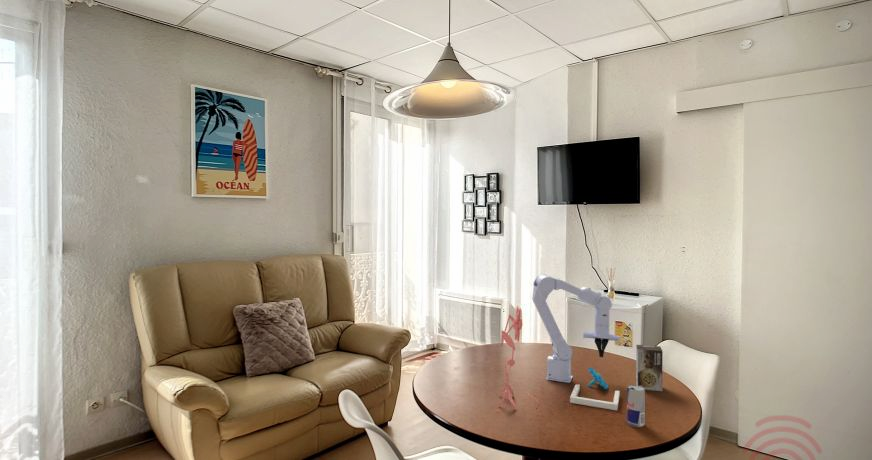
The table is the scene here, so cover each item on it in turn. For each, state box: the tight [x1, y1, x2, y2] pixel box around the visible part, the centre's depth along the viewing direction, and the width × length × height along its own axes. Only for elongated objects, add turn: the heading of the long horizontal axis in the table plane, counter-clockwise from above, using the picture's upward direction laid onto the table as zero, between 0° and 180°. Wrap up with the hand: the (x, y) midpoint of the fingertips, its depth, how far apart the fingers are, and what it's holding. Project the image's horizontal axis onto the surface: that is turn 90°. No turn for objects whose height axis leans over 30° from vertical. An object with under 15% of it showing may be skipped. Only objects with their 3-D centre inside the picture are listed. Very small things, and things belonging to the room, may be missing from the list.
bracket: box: [569, 383, 621, 411], centre depth 169 cm, size 16×14×2 cm
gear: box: [587, 367, 609, 390], centre depth 182 cm, size 11×6×10 cm
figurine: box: [495, 305, 539, 414], centre depth 165 cm, size 15×26×35 cm, turn 171°
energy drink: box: [626, 384, 646, 428], centre depth 149 cm, size 5×5×12 cm
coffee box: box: [635, 344, 664, 392], centre depth 181 cm, size 9×6×16 cm
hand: (601, 356), depth 190 cm, fingers closed
